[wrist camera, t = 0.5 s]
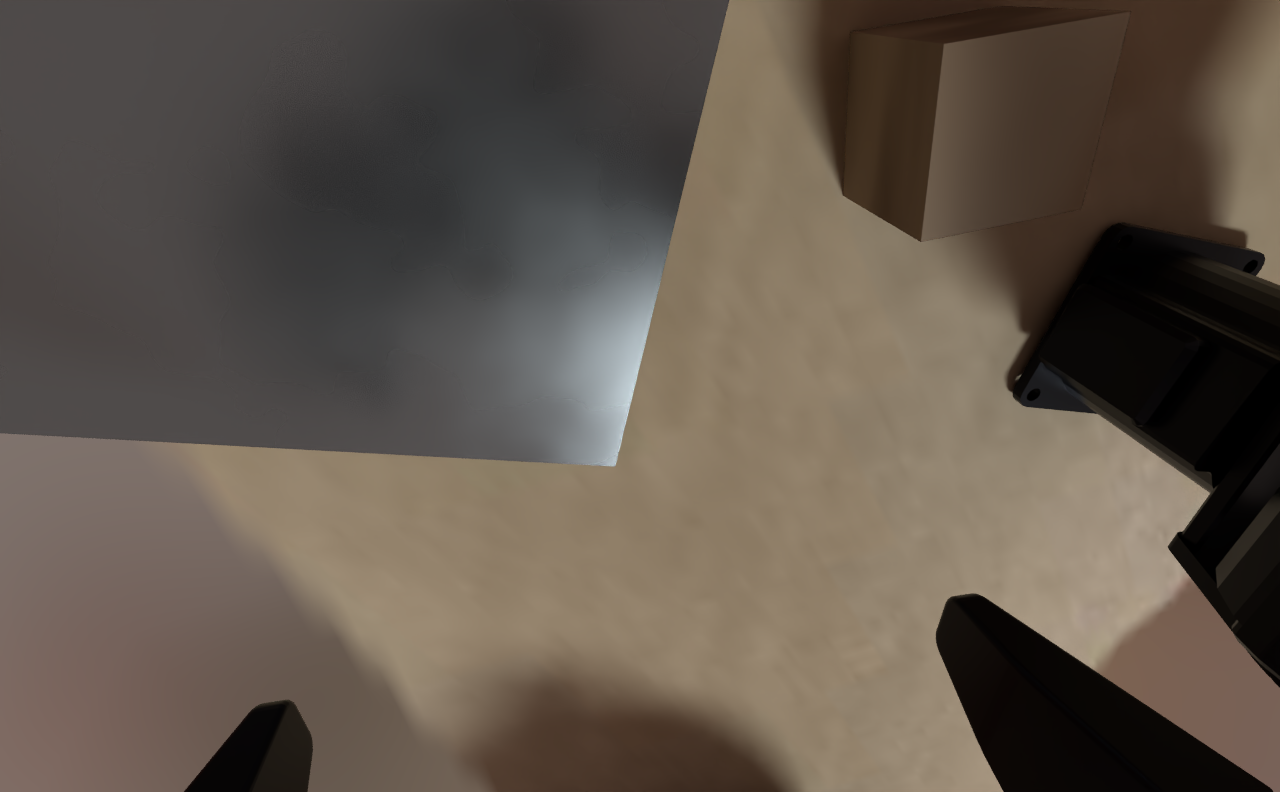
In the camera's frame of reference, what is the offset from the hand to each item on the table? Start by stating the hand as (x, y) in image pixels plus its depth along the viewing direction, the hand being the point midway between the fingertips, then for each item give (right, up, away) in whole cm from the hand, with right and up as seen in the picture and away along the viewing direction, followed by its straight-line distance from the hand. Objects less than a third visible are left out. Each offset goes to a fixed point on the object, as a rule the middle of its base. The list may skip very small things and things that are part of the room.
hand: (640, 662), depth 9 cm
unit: (-6, +10, +6) cm, 13 cm away
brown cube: (+7, +11, +8) cm, 16 cm away
